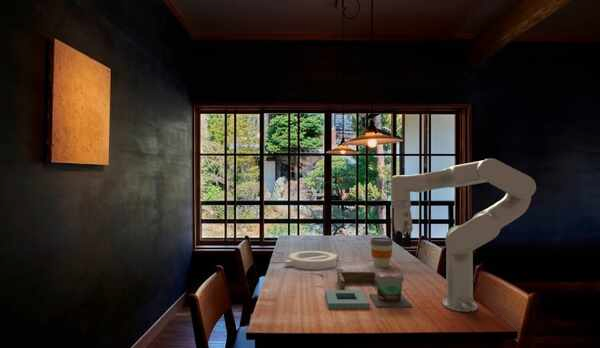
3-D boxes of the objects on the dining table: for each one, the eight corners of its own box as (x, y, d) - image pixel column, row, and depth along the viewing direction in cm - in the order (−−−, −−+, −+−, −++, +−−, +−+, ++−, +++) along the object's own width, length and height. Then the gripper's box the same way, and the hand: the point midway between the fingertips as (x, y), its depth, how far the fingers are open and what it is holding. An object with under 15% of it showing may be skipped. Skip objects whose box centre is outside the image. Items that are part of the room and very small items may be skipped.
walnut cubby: (384, 292, 154) (384, 281, 154) (341, 292, 154) (341, 281, 154) (376, 281, 170) (376, 271, 170) (337, 281, 170) (337, 271, 170)
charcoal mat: (412, 307, 136) (412, 305, 136) (376, 307, 136) (376, 305, 136) (401, 295, 150) (401, 293, 150) (369, 295, 150) (369, 294, 150)
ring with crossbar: (340, 260, 216) (340, 252, 217) (331, 271, 190) (331, 262, 190) (296, 257, 224) (296, 249, 224) (282, 268, 197) (282, 259, 197)
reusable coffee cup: (368, 262, 208) (368, 237, 208) (388, 262, 209) (388, 237, 209) (373, 268, 196) (373, 241, 196) (395, 267, 196) (395, 241, 197)
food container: (381, 304, 138) (381, 279, 138) (374, 299, 144) (374, 275, 144) (409, 302, 140) (409, 277, 140) (402, 297, 146) (402, 273, 146)
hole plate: (369, 308, 135) (369, 303, 135) (328, 308, 135) (328, 303, 135) (361, 294, 151) (361, 290, 151) (325, 294, 151) (325, 290, 151)
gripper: (418, 205, 139) (419, 248, 138) (402, 202, 156) (404, 241, 156) (399, 206, 138) (401, 249, 138) (386, 203, 156) (387, 241, 155)
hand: (402, 245), depth 147 cm, fingers open, 9 cm apart
